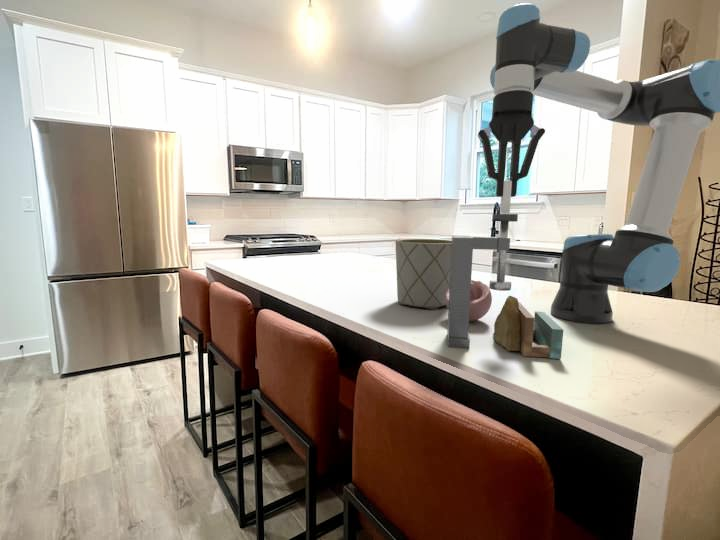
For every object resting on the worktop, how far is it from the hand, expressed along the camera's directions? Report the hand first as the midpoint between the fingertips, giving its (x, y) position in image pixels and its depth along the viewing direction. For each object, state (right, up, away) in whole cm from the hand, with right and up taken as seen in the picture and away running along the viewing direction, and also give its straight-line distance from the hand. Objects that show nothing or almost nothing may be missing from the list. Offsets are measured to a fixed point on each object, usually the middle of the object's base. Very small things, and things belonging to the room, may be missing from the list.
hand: (504, 212), depth 80 cm
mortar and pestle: (-2, -26, +23) cm, 34 cm away
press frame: (-5, -28, +5) cm, 29 cm away
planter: (-10, -23, +42) cm, 49 cm away
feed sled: (+7, -28, +3) cm, 30 cm away
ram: (0, -16, +2) cm, 16 cm away
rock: (+2, -28, +4) cm, 29 cm away
